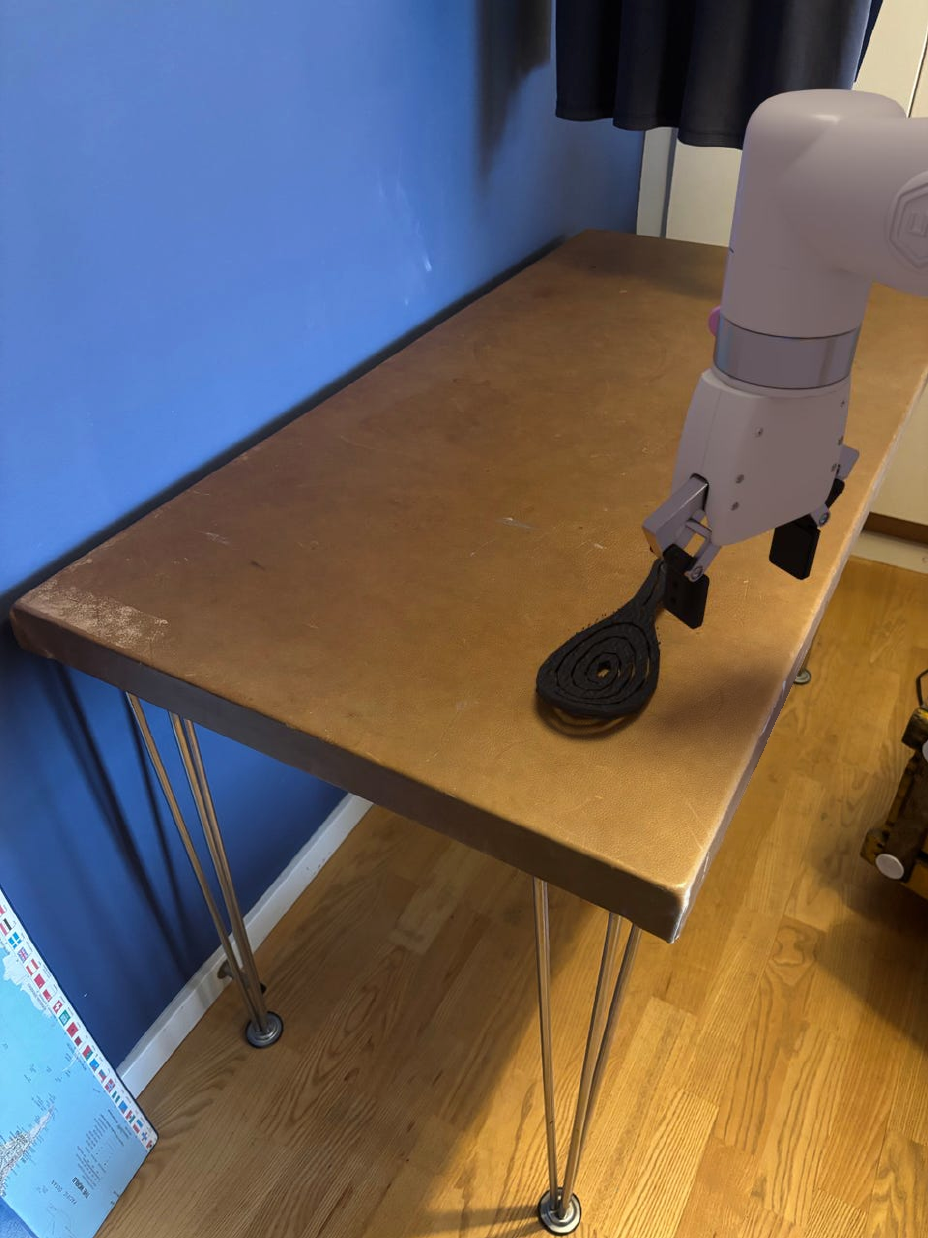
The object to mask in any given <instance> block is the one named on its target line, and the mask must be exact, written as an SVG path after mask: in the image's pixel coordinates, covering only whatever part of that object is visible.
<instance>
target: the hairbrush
mask: <svg viewBox="0 0 928 1238" xmlns="http://www.w3.org/2000/svg"><path fill="white" fill-rule="evenodd" d="M689 555H690V556H692V555H691V554H689ZM666 572H667V564H666V563H665V562H663V561H662V560H661V559H660V558H659V557H657V558H656V559H654V561H653V563H652V566H651V568H650V571H649V573H648V575H647V576H646V578H645V580H644V581H643V582H642V584H641V586H640V587H639V589H638V590H637V591H636V593H635V595H634V596H633V597H632V598H631V599H629V600H628V601H627V602H626V603H625V604H624V605H622V606H620V607H618V608H617V610H616V611H615V610H613V611H612V614H610V615H608V616H607V613H604V614H603V613H602V614H601V618H600V619H599V618H598V617H597V618H596V619H595V622H594V624H592V625H591V622H589V623H588V624H587V627H586V628H585V627H584V626H583V627H582V628H581V631H576V632H575V634H574V635H573V636H571V637H570V638H569V639H567V640H566V641H565V642H564V643H563V644H561V645H560V646H559V647H557V648H556V649H555V650H554V651H552V653H550V654H549V655H548V656H547V658H546V659H545V660H544V662H543V663H542V664H541V665H540V666H539V667H538V671H537V674H536V677H535V685H536V686H535V693H536V694H537V695H538V696H539V697H540V698H541V699H542V700H543V701H544V702H545V703H547V704H548V705H549V706H550V707H554V708H556V709H558V710H560V711H562V712H565V713H567V714H568V715H571V716H573V717H580V718H586V719H594V720H601V721H614V720H617V719H622V718H625V717H629V716H632V715H635V714H639V712H640V710H641V709H642V708H643V707H644V705H645V704H646V703H647V702H648V701H649V698H650V697H651V696H652V694H653V693H654V691H655V690H656V689H657V687H658V681H659V676H660V666H661V651H662V650H661V649H660V645H661V644H662V642H661V640H658V637H660V636H661V634H660V633H658V634H657V630H658V629H659V627H658V626H657V627H656V626H655V625H656V621H657V619H656V610H657V608H658V607H659V606H660V605H661V604H663V595H664V587H665V580H666ZM656 584H657V585H656ZM606 616H607V617H606ZM598 620H599V621H598ZM648 662H649V668H648ZM647 668H648V673H647ZM605 669H607V670H608V671H607V672H606V673H605V674H604V675H600V674H601V673H602V672H603V670H605ZM633 671H634V673H633ZM599 672H600V673H599ZM632 674H633V675H632ZM646 674H647V675H646Z"/></svg>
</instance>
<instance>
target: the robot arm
mask: <svg viewBox="0 0 928 1238" xmlns="http://www.w3.org/2000/svg"><path fill="white" fill-rule="evenodd" d="M741 151H742V152H741V159H740V164H739V165H740V166H739V172H738V179H737V185H736V193H735V199H734V200H735V201H734V206H733V213H732V221H731V227H730V234H729V240H728V241H729V242H728V247H727V248H728V249H727V256H726V262H725V269H724V276H723V284H722V290H721V291H722V292H721V298H720V305H719V306H720V311H719V317H718V324H717V331H716V337H714V338H715V339H714V346H713V352H712V360H711V367H710V368H711V369H709V368H708V369H709V370H707V369H706V370H707V371H705V370H704V371H705V372H704V371H703V372H701V374H700V376H699V379H698V382H697V385H696V387H695V389H694V392H693V395H692V396H691V397H692V398H691V401H690V403H689V406H688V410H687V413H686V417H685V420H684V424H683V427H682V430H681V431H682V432H681V436H680V440H679V444H678V448H677V453H676V458H675V464H674V469H673V473H672V478H671V479H672V480H671V485H670V493H669V498H668V499H666V500H665V501H664V502H662V504H660V506H659V507H658V508H656V509H655V510H654V511H653V512H651V513H650V515H648V516H647V517H646V518H645V519H644V521H642V524H641V531H642V532H643V534H644V537H645V539H646V541H647V544H648V545H649V551H650V552H651V553H652V554H653V555H654V556H656V557H657V558H660V559H661V560H662V561H663V562H665V563H666V564H667V572H666V580H665V587H664V595H663V601H662V606H663V608H664V609H665V610H666V611H667V612H668V613H670V614H671V615H672V616H674V617H675V618H677V619H678V620H679V621H681V622H682V623H683V624H684V625H685V626H687V627H688V628H690V629H691V630H696V629H699V628H700V627H702V626H703V623H704V619H705V612H706V608H707V607H706V606H707V600H708V594H709V588H710V579H711V578H710V577H709V576H708V575H707V574H706V573H705V572H706V571H707V569H708V568H709V567H710V565H711V564H712V562H713V561H714V560H715V558H716V557H717V555H718V554H719V553H720V551H721V549H722V548H723V547H726V546H732V545H735V544H739V543H741V542H744V541H746V540H749V539H751V538H755V537H757V536H759V535H762V534H764V533H766V532H770V531H772V530H773V536H772V540H771V544H770V549H769V554H768V561H769V562H770V563H771V564H773V565H774V566H776V567H777V568H779V569H781V570H782V571H783V572H785V573H786V574H789V575H790V576H792V577H793V578H795V579H796V580H798V581H804V580H806V579H808V578H809V577H810V576H811V571H812V569H813V564H814V560H815V556H816V552H817V547H818V545H819V540H820V536H821V533H822V532H821V531H822V530H821V529H819V528H823V527H825V526H826V525H827V524H828V523H829V521H830V520H831V516H832V513H831V511H830V508H831V507H832V506H833V504H834V503H836V500H837V499H838V498H840V495H842V494H843V491H844V490H845V486H846V483H845V481H844V480H847V479H848V477H849V475H850V473H851V472H852V470H853V468H854V466H855V465H856V463H857V461H858V460H859V458H860V454H861V453H860V451H859V450H857V449H856V448H854V447H852V446H849V445H847V444H846V443H844V439H845V433H846V427H847V422H848V421H847V420H848V414H849V406H850V395H851V384H852V367H853V363H854V359H855V355H856V352H857V348H858V342H859V339H860V335H861V330H862V326H863V322H864V319H865V315H866V309H867V306H868V301H869V298H870V294H871V291H872V290H871V288H872V285H873V282H875V283H876V284H880V285H881V286H884V287H886V288H889V289H892V290H894V291H897V292H899V293H902V294H904V295H905V294H906V295H909V296H913V297H917V298H921V299H926V300H928V116H922V117H920V116H919V117H908V116H907V114H906V112H905V109H904V108H903V106H901V104H900V103H899V102H898V101H897V100H895V99H892V98H891V97H889V96H886V95H883V94H881V93H875V92H871V91H863V90H854V89H840V88H814V89H803V90H802V89H801V90H792V91H787V92H783V93H779V94H776V95H773V96H771V97H768V98H767V99H765V100H764V101H763V102H761V103H760V104H759V105H758V106H757V108H756V109H755V110H754V112H753V113H752V114H751V116H750V118H749V120H748V123H747V125H746V129H745V134H744V140H743V145H742V150H741ZM704 518H706V523H707V526H705V525H704V524H702V523H701V522H702V521H703V520H704ZM696 534H698V535H699V536H700V537H702V538H704V540H703V542H702V543H701V545H700V546H699V547H698V549H697V550H696V552H695V553H694V555H693V556H692V555H691V554H690V553H688V552H687V551H685V549H686V548H687V546H688V545H689V543H690V542H691V540H693V538H694V537H695V535H696ZM690 555H691V556H690Z"/></svg>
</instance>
